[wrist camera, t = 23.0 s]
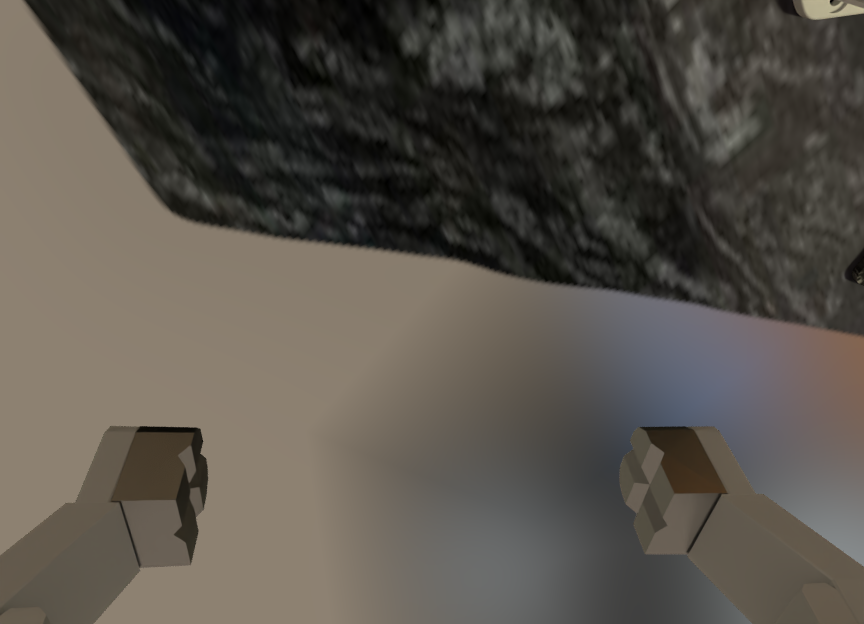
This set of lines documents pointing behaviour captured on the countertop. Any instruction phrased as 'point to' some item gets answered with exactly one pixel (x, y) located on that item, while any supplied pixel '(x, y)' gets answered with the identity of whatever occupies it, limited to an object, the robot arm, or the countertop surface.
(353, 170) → the countertop surface
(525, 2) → the countertop surface
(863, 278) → the phone
